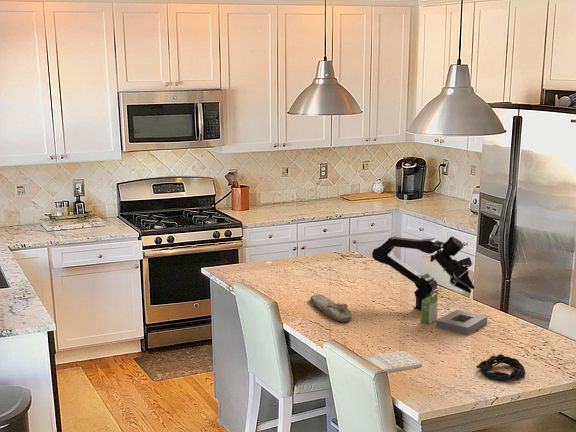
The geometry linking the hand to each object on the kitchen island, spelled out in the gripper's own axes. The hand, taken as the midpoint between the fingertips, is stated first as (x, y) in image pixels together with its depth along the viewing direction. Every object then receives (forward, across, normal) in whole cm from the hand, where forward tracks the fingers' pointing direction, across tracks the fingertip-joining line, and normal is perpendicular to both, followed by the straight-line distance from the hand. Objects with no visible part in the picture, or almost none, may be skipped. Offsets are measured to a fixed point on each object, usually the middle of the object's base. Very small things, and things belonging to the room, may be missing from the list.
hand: (472, 290), depth 313 cm
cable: (+31, -46, +22) cm, 60 cm away
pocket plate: (+8, -4, +14) cm, 17 cm away
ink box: (-2, 0, +23) cm, 23 cm away
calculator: (+4, -43, +51) cm, 67 cm away
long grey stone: (-32, +8, +52) cm, 62 cm away
